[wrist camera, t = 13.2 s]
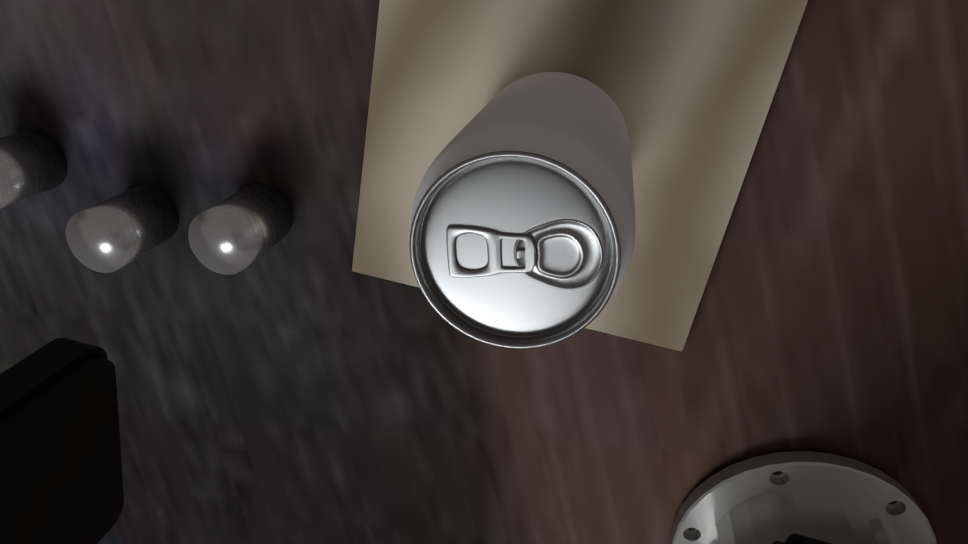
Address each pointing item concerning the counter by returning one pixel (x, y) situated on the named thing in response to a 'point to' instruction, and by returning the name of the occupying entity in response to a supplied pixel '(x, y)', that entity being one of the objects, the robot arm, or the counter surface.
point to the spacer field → (144, 214)
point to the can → (528, 214)
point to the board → (634, 89)
